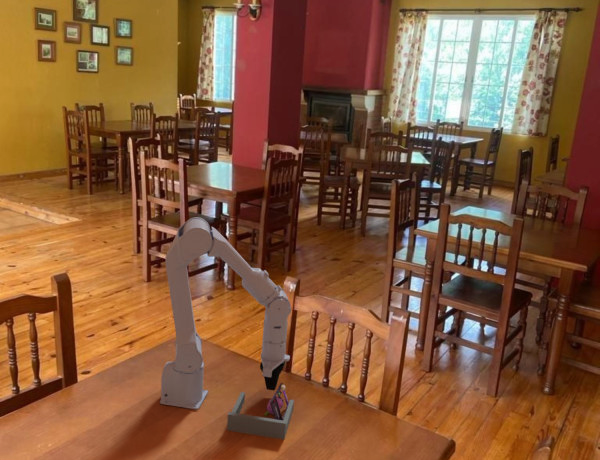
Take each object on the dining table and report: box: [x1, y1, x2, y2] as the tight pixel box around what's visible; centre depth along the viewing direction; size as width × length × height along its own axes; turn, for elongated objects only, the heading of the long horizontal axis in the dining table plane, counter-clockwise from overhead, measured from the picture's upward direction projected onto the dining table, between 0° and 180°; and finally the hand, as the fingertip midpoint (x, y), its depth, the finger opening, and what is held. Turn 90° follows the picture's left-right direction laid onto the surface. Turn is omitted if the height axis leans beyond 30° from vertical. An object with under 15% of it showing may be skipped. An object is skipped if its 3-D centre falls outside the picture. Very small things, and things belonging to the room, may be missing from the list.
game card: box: [264, 382, 289, 420], centre depth 134 cm, size 7×5×9 cm
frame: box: [226, 391, 295, 440], centre depth 132 cm, size 13×12×4 cm
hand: (271, 388), depth 142 cm, fingers closed
